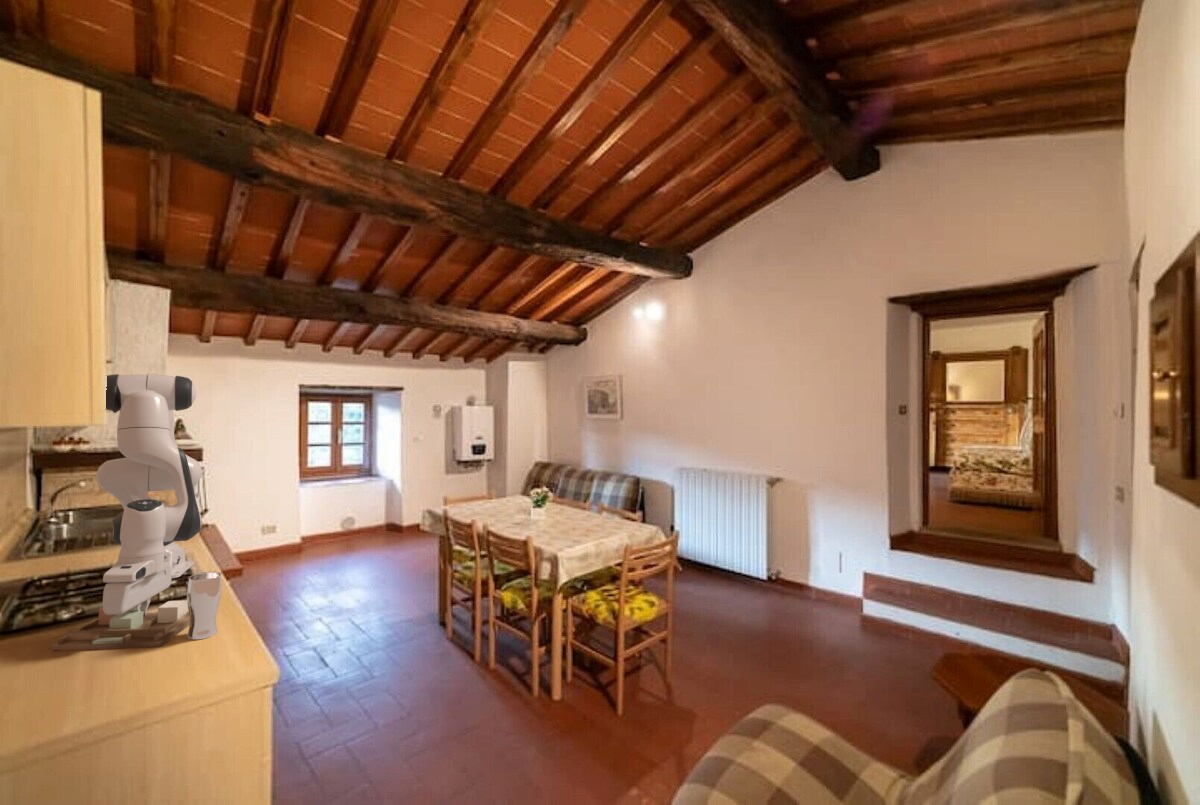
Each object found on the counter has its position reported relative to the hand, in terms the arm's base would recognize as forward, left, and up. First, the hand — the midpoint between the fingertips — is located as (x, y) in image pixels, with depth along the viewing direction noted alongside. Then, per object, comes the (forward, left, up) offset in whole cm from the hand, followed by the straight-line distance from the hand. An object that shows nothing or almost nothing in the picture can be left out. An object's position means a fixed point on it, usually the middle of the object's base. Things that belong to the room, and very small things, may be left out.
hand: (138, 618), depth 132 cm
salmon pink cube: (-2, -7, -1) cm, 7 cm away
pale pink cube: (-2, +6, -1) cm, 7 cm away
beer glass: (+5, +17, -3) cm, 18 cm away
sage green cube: (+4, 0, -1) cm, 4 cm away
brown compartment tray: (+2, 0, -3) cm, 3 cm away
